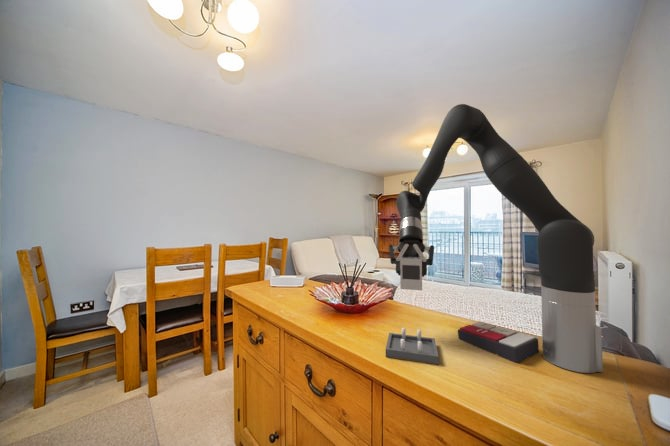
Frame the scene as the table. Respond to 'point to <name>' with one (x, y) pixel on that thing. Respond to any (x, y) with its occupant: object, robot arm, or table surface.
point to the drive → (411, 273)
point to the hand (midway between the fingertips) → (411, 274)
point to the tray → (412, 347)
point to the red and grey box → (500, 341)
